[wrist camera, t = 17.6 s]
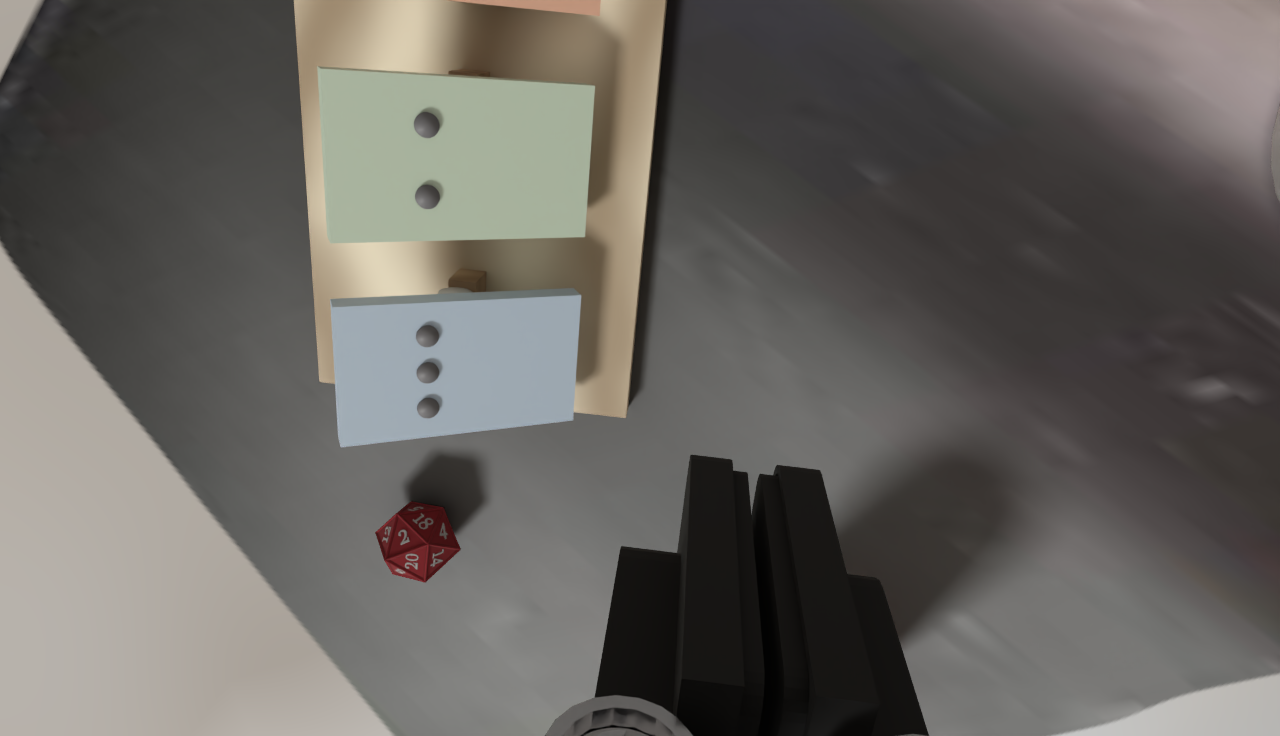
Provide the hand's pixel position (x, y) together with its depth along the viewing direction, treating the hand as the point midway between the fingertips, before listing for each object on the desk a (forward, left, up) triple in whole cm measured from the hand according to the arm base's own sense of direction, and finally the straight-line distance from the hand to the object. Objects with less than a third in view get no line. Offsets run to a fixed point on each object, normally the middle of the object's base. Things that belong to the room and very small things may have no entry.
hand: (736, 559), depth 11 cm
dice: (+13, +19, -27) cm, 36 cm away
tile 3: (+10, +8, -23) cm, 26 cm away
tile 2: (+10, -1, -23) cm, 25 cm away
